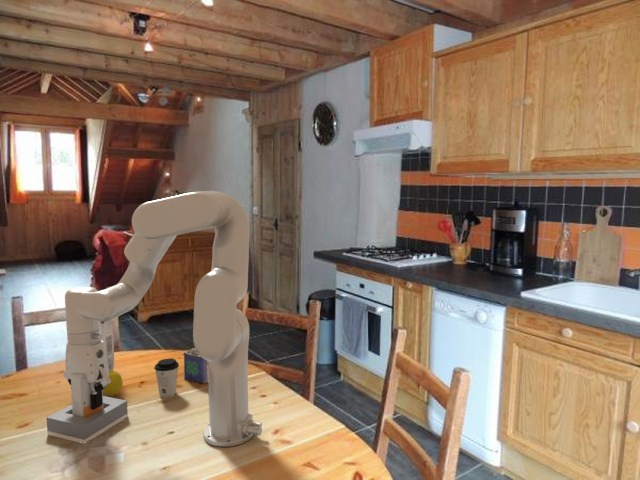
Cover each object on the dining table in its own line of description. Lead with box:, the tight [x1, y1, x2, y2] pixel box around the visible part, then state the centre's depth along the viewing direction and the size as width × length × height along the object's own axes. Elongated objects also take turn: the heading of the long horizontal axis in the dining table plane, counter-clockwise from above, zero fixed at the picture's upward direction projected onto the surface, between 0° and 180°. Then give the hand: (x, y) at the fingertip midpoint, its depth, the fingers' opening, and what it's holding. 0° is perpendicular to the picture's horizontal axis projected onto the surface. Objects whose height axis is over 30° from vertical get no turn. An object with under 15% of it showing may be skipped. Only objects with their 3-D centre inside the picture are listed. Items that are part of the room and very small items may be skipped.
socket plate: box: [45, 395, 129, 444], centre depth 117 cm, size 12×14×4 cm
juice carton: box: [100, 319, 115, 372], centre depth 149 cm, size 9×10×27 cm
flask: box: [183, 347, 208, 385], centre depth 145 cm, size 9×3×11 cm, turn 61°
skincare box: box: [70, 373, 104, 418], centre depth 117 cm, size 6×4×12 cm
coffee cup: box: [153, 357, 180, 398], centre depth 135 cm, size 7×7×10 cm
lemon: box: [103, 369, 123, 398], centre depth 134 cm, size 6×6×8 cm
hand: (88, 404), depth 117 cm, fingers closed on skincare box, 4 cm apart
